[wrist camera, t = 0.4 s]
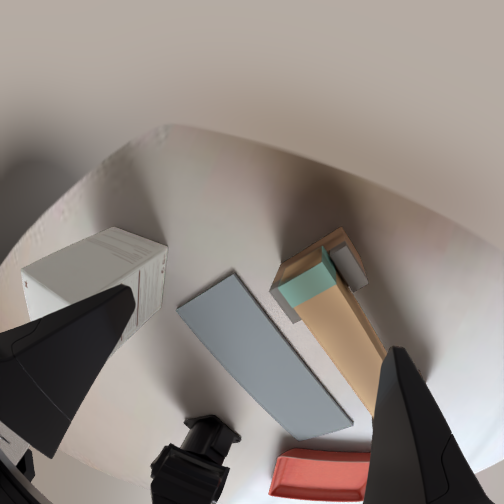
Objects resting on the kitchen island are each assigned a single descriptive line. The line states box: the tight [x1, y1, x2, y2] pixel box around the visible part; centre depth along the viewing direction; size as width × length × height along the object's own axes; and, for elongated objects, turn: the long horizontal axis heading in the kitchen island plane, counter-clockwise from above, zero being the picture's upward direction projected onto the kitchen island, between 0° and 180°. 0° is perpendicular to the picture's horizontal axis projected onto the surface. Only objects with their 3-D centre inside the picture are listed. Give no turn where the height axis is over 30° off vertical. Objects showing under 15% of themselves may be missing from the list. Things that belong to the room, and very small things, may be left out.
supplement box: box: [21, 226, 168, 360], centre depth 22 cm, size 7×7×13 cm
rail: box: [278, 246, 387, 418], centre depth 19 cm, size 3×22×3 cm, turn 37°
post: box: [269, 226, 369, 324], centre depth 20 cm, size 6×3×5 cm, turn 127°
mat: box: [176, 273, 353, 441], centre depth 28 cm, size 8×24×1 cm, turn 37°
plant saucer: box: [268, 448, 371, 502], centre depth 32 cm, size 18×18×3 cm
